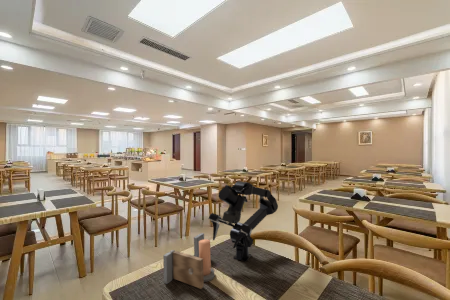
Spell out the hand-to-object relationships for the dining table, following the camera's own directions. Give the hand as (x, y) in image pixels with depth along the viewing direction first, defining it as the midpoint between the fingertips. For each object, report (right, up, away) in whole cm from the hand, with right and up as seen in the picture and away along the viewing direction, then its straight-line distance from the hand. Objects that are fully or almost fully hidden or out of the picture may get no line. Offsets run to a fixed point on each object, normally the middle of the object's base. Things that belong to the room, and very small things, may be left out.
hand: (223, 244), depth 89 cm
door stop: (-7, -10, -6) cm, 14 cm away
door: (-14, -10, -10) cm, 20 cm away
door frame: (-16, -10, 0) cm, 19 cm away
